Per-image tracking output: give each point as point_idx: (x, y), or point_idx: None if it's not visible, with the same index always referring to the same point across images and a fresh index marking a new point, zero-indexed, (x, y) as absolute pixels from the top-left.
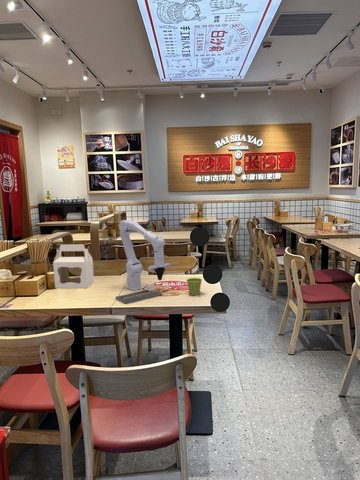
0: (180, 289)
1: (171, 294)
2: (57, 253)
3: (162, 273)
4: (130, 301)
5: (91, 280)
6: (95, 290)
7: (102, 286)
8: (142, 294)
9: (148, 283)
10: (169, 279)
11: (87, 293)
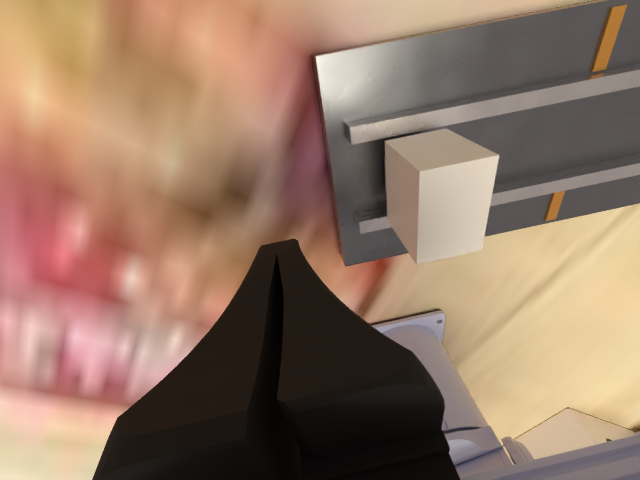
0: (14, 167)
1: (178, 17)
2: None
3: (238, 322)
4: None
5: None
6: (573, 373)
7: (505, 411)
8: (557, 83)
9: (475, 216)
10: (103, 431)
11: (634, 347)
